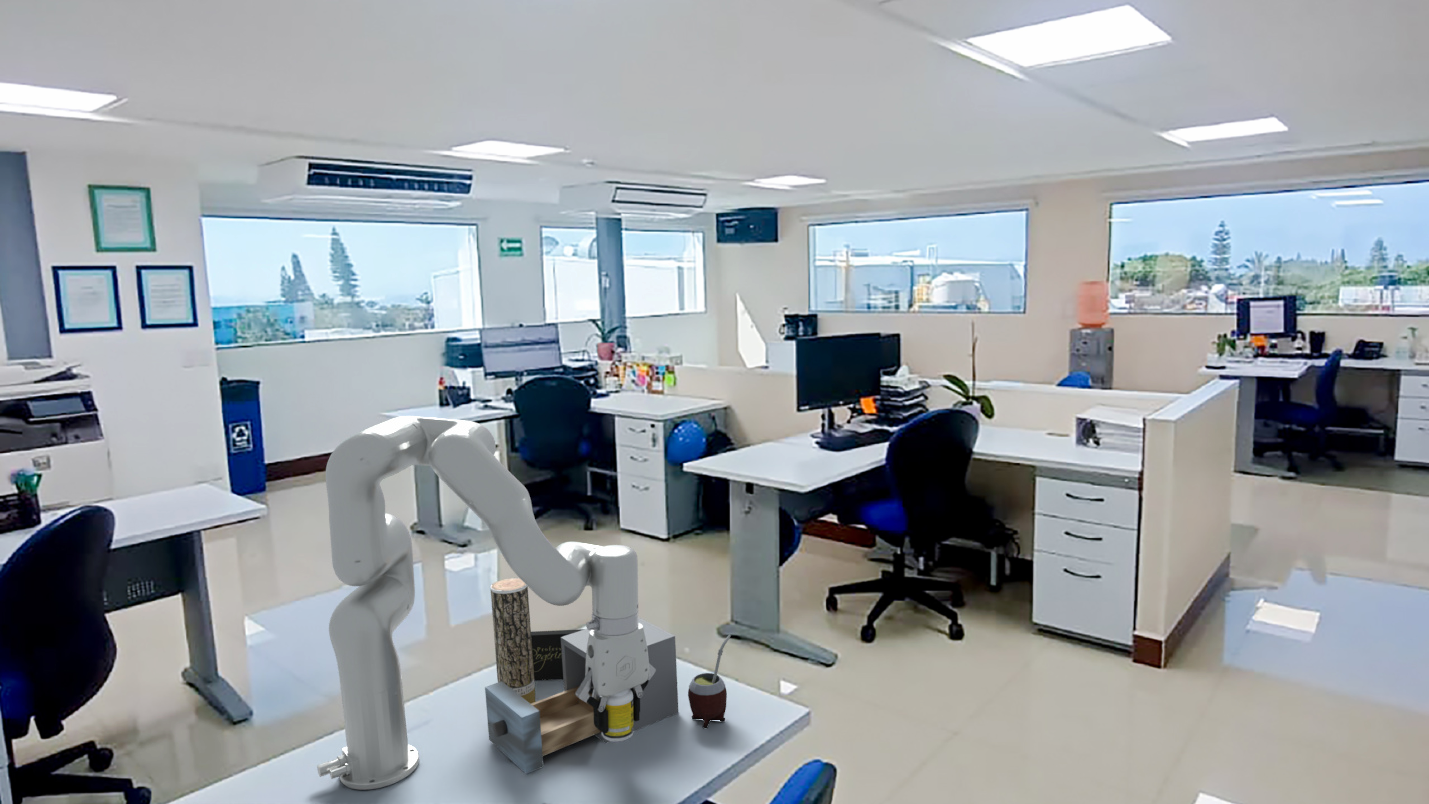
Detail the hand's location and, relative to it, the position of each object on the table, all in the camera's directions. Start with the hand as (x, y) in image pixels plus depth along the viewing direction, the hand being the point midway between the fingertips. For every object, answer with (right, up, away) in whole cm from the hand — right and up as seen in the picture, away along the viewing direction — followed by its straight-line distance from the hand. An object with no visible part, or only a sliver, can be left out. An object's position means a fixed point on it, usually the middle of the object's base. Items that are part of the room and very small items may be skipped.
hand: (617, 722), depth 143 cm
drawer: (-13, -6, +9) cm, 17 cm away
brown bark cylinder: (-22, -5, +21) cm, 31 cm away
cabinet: (-1, -5, +18) cm, 19 cm away
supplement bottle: (0, -2, 0) cm, 2 cm away
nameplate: (-14, -4, +34) cm, 37 cm away
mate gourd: (+15, -5, +15) cm, 22 cm away
